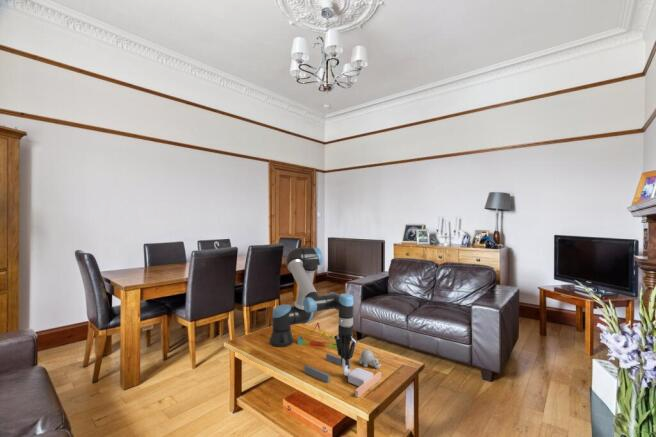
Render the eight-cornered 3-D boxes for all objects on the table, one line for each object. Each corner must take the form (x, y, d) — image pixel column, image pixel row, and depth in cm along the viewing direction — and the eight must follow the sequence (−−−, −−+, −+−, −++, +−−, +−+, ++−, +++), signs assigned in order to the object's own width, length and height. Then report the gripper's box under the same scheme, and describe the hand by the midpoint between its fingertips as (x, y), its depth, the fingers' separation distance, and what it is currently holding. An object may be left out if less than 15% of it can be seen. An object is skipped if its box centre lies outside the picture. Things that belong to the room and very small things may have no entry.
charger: (348, 372, 163) (373, 381, 153) (338, 379, 156) (363, 389, 146) (348, 363, 163) (373, 372, 153) (338, 369, 156) (363, 379, 146)
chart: (345, 347, 194) (345, 324, 194) (344, 349, 191) (344, 325, 191) (299, 342, 201) (299, 319, 201) (297, 344, 197) (298, 321, 197)
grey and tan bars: (302, 373, 161) (302, 366, 161) (328, 358, 178) (328, 352, 178) (357, 397, 139) (357, 390, 139) (381, 378, 157) (381, 371, 157)
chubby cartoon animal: (374, 376, 164) (380, 363, 162) (356, 362, 170) (361, 349, 168) (379, 370, 170) (385, 358, 168) (362, 357, 176) (367, 345, 174)
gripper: (331, 323, 158) (330, 369, 159) (352, 329, 150) (351, 377, 150) (339, 320, 164) (339, 363, 164) (360, 325, 156) (359, 371, 156)
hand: (344, 370), depth 157 cm, fingers closed
